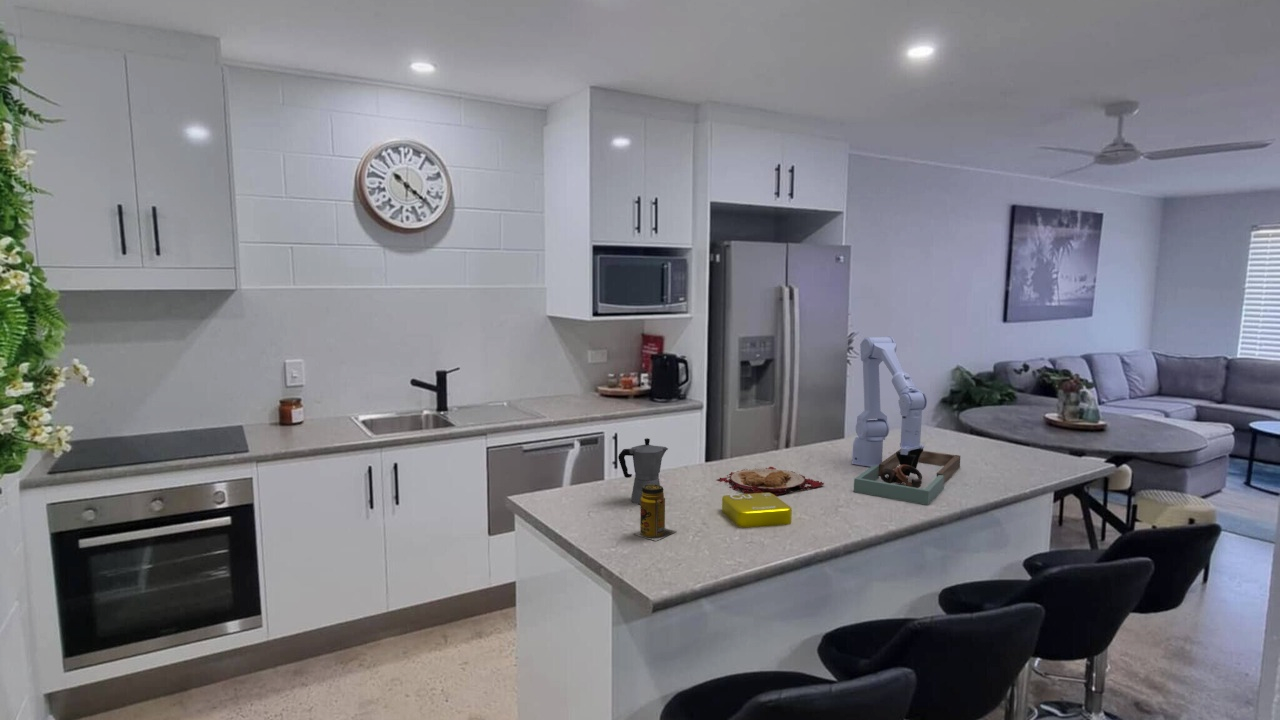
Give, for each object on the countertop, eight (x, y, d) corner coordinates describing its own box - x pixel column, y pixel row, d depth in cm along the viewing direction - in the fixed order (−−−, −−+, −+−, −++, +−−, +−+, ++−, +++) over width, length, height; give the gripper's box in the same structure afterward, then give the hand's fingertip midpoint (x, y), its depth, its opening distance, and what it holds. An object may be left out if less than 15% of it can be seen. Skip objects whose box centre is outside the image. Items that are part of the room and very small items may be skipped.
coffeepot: (659, 492, 203) (660, 433, 201) (675, 502, 194) (675, 439, 192) (611, 499, 196) (611, 437, 194) (625, 509, 188) (625, 445, 186)
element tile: (739, 529, 174) (739, 511, 173) (719, 510, 188) (719, 493, 188) (794, 525, 177) (794, 507, 177) (770, 506, 192) (771, 490, 191)
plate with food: (825, 489, 210) (825, 478, 210) (758, 500, 197) (758, 488, 196) (771, 471, 231) (771, 461, 231) (707, 480, 218) (707, 469, 217)
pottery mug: (909, 484, 214) (921, 465, 210) (915, 506, 206) (928, 487, 202) (872, 474, 214) (883, 455, 209) (877, 496, 206) (889, 476, 201)
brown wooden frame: (878, 476, 222) (879, 464, 221) (902, 458, 244) (902, 447, 244) (941, 486, 211) (942, 473, 210) (959, 467, 233) (960, 455, 233)
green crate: (853, 491, 205) (854, 478, 205) (873, 477, 221) (874, 464, 220) (928, 505, 193) (928, 491, 192) (943, 488, 209) (944, 475, 208)
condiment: (632, 534, 169) (633, 487, 168) (654, 525, 176) (654, 479, 174) (655, 541, 164) (656, 493, 163) (677, 532, 171) (677, 485, 170)
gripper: (918, 436, 206) (916, 480, 207) (930, 428, 217) (927, 469, 219) (894, 433, 210) (892, 476, 211) (907, 425, 221) (904, 466, 223)
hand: (908, 472), depth 215 cm, fingers open, 7 cm apart
